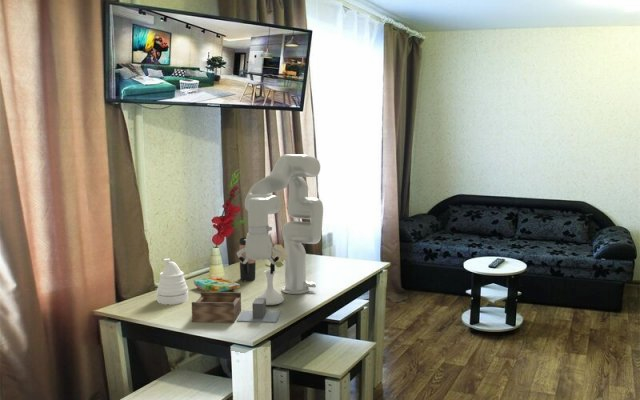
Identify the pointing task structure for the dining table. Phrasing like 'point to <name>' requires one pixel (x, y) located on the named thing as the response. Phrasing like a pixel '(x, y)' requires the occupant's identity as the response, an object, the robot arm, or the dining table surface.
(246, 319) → the cover plate
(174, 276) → the honey pot
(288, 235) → the robot arm
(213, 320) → the walnut box
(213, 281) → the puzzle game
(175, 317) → the dining table surface
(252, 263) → the travel mug
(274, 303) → the flower in vase
